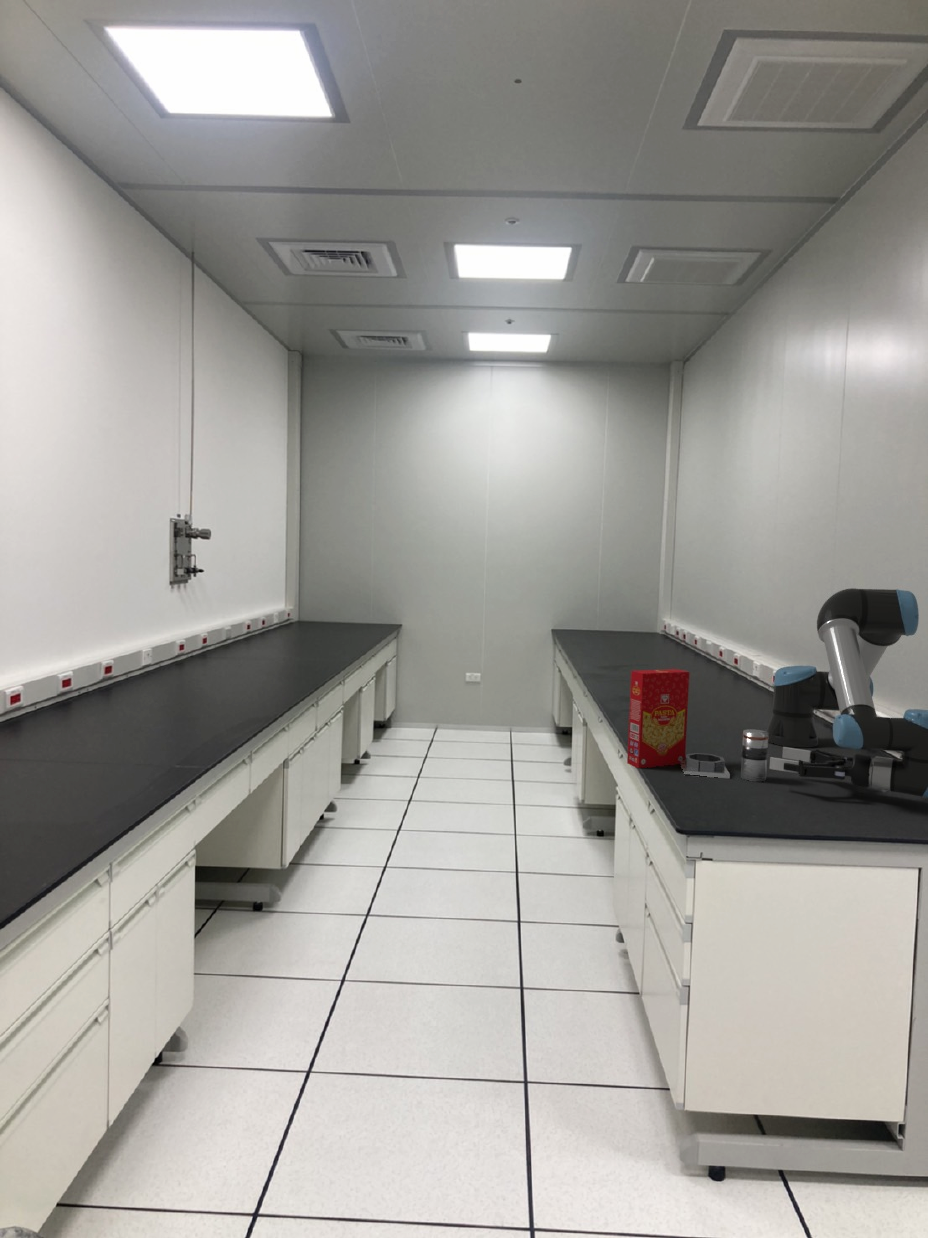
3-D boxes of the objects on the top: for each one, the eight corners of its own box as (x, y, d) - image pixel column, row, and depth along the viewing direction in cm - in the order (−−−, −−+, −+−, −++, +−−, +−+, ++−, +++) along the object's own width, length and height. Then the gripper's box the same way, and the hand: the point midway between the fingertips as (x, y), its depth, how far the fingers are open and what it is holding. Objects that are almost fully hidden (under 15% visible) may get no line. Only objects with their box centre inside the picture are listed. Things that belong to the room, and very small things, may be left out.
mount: (722, 767, 216) (723, 754, 216) (729, 778, 205) (730, 764, 205) (680, 764, 218) (680, 751, 217) (684, 775, 207) (685, 761, 206)
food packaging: (638, 768, 213) (642, 673, 211) (627, 763, 218) (631, 670, 216) (684, 764, 218) (689, 672, 216) (672, 759, 223) (677, 669, 221)
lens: (763, 776, 208) (766, 730, 207) (768, 782, 202) (771, 735, 201) (738, 774, 209) (740, 728, 208) (742, 781, 203) (745, 733, 202)
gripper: (862, 800, 180) (763, 783, 192) (877, 776, 201) (786, 762, 212) (865, 767, 179) (765, 752, 191) (879, 746, 200) (788, 734, 212)
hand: (776, 757), depth 202 cm, fingers open, 13 cm apart
